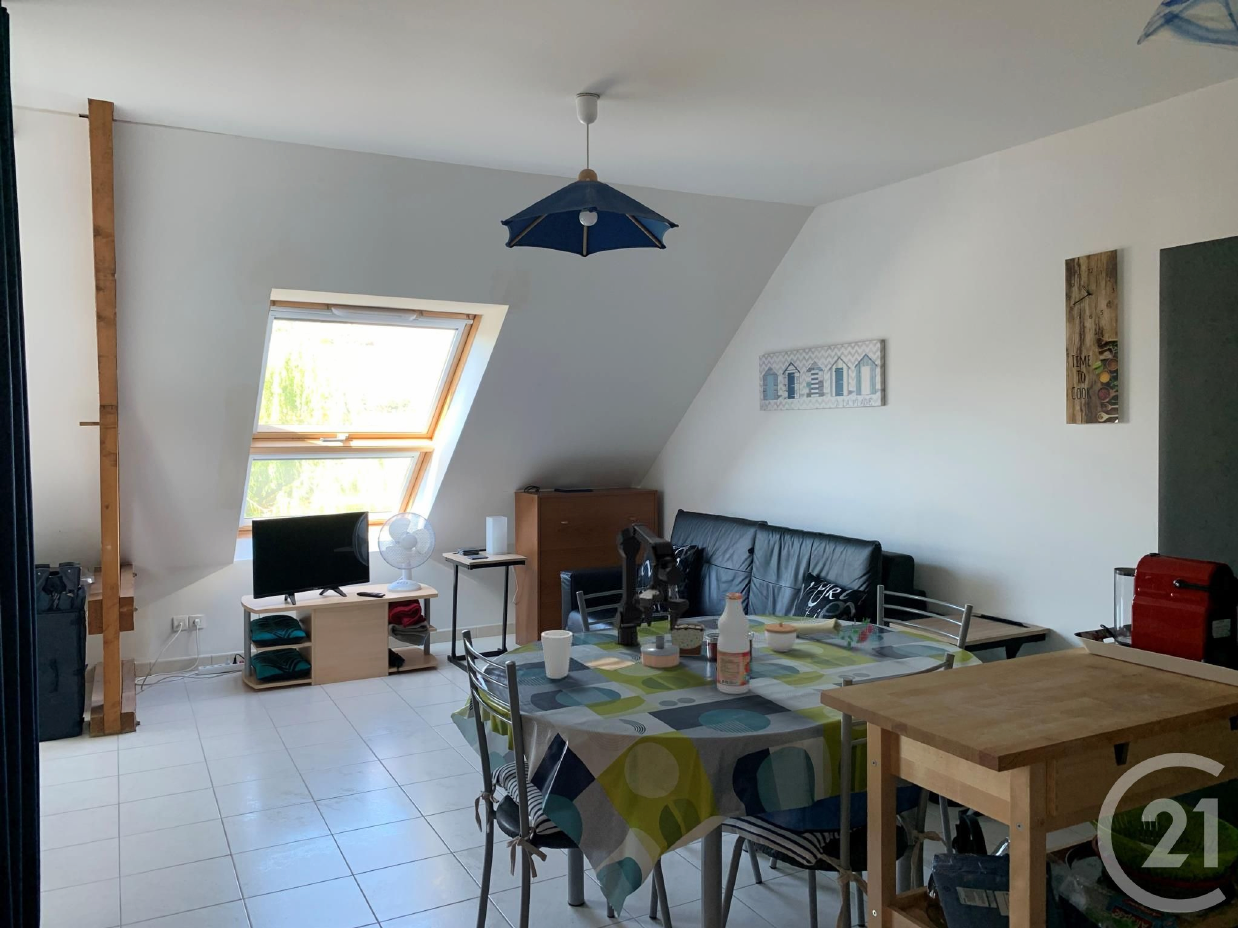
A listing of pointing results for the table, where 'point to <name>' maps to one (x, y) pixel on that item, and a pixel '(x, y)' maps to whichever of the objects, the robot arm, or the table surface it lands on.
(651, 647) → the lid
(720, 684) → the fruit juice
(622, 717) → the table surface
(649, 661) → the bowl
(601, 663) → the mat
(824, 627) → the flower vase
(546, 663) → the foam cup
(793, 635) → the lidded jar
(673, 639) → the food container
